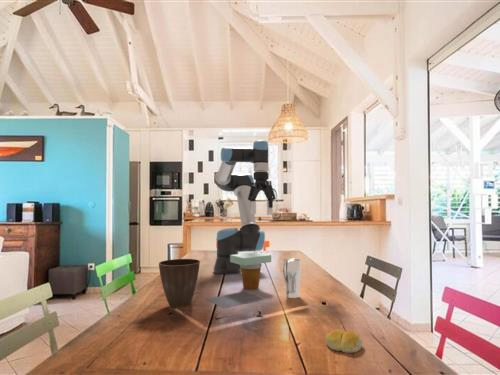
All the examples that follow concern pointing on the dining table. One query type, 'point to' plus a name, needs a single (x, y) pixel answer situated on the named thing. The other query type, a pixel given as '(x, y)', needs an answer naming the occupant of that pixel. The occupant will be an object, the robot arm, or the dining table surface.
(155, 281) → the dining table surface
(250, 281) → the disposable coffee cup
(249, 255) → the board
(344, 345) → the bread roll
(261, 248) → the robot arm
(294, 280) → the beer glass
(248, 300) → the rubber mat
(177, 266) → the plant pot
